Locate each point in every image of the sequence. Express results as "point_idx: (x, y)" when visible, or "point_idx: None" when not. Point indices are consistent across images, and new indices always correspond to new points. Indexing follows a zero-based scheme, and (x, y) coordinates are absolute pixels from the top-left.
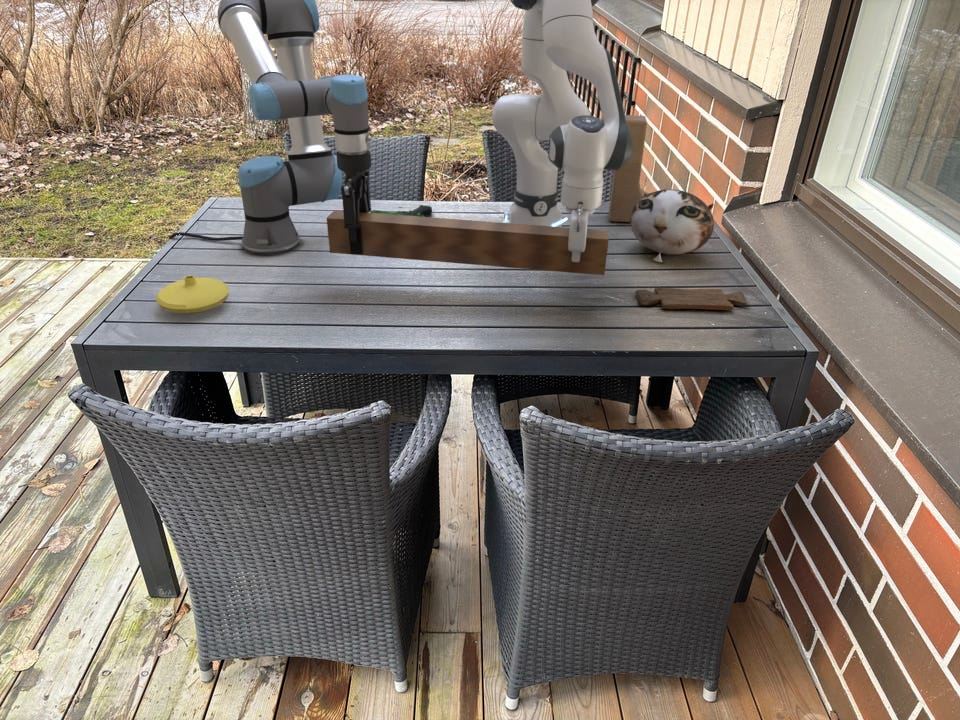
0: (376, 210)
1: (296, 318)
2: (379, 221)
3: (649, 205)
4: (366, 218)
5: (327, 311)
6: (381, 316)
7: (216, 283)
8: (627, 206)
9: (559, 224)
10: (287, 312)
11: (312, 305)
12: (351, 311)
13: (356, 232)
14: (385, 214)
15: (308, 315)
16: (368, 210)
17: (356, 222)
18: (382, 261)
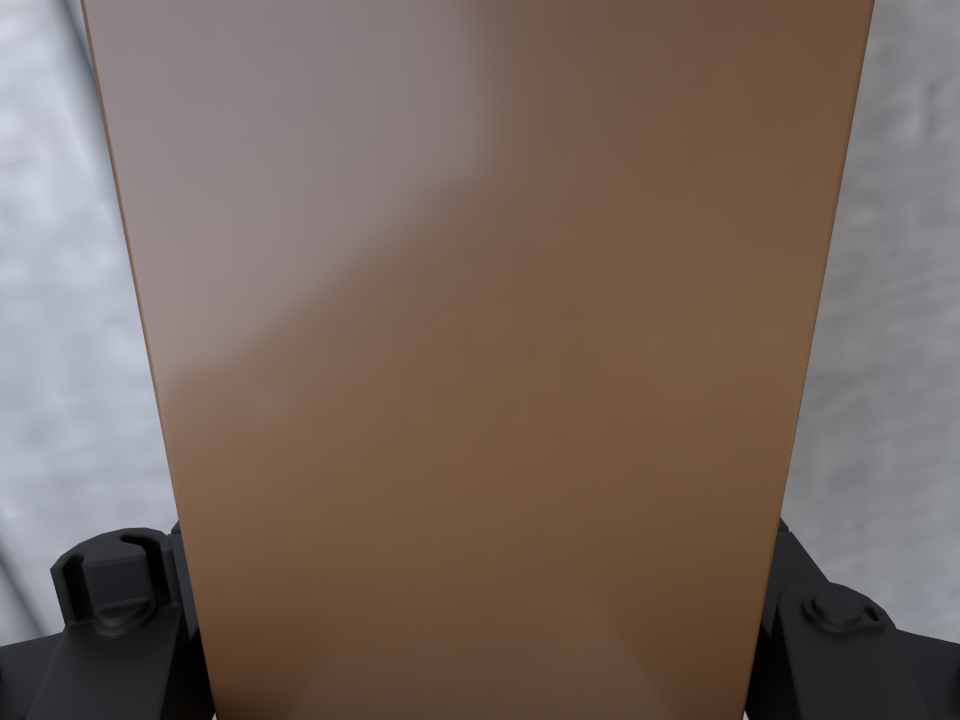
0: None
1: (946, 533)
2: (789, 213)
3: None
4: (604, 588)
5: (861, 409)
6: (949, 38)
7: None
8: None
9: None
10: (871, 594)
11: (782, 508)
12: (864, 270)
13: (781, 567)
14: (165, 198)
15: (911, 489)
16: (50, 678)
17: (913, 709)
18: (44, 296)
